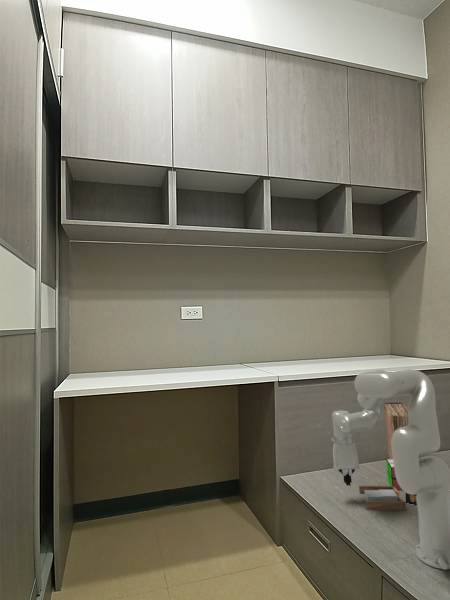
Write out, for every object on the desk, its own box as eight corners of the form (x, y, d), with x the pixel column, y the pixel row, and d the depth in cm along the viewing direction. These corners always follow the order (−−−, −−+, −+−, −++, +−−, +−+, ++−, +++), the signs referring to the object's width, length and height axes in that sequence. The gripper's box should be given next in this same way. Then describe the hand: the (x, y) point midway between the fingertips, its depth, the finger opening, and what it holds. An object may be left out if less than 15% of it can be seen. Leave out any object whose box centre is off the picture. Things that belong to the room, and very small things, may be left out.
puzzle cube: (416, 490, 166) (415, 467, 167) (392, 490, 168) (390, 467, 169) (410, 481, 176) (408, 459, 177) (387, 480, 178) (386, 459, 179)
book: (418, 479, 177) (413, 414, 179) (397, 478, 180) (392, 414, 181) (406, 458, 202) (402, 402, 204) (388, 458, 204) (383, 402, 206)
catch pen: (405, 510, 151) (405, 502, 151) (366, 509, 153) (366, 501, 153) (395, 492, 166) (394, 485, 166) (359, 492, 168) (359, 485, 168)
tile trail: (383, 505, 156) (382, 496, 156) (368, 505, 157) (367, 496, 157) (379, 498, 162) (378, 490, 162) (365, 498, 163) (364, 490, 163)
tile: (398, 504, 156) (397, 496, 156) (383, 504, 157) (382, 496, 157) (393, 497, 162) (393, 489, 162) (379, 497, 163) (378, 489, 163)
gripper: (326, 443, 160) (331, 488, 158) (363, 442, 158) (368, 487, 156) (325, 438, 167) (329, 481, 166) (359, 437, 165) (364, 480, 163)
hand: (348, 484), depth 161 cm, fingers closed
